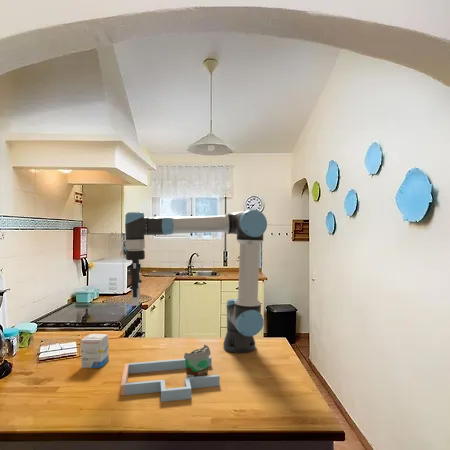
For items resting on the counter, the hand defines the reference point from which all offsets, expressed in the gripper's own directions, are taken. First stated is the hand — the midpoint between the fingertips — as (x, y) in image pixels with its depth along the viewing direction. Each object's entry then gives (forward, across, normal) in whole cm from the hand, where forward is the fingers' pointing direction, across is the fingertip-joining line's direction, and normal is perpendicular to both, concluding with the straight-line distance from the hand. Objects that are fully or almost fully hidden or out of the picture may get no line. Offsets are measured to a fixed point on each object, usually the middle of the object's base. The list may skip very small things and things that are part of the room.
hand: (136, 301), depth 148 cm
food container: (+27, +14, +24) cm, 39 cm away
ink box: (+27, -8, -18) cm, 33 cm away
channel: (+27, +17, +13) cm, 35 cm away
